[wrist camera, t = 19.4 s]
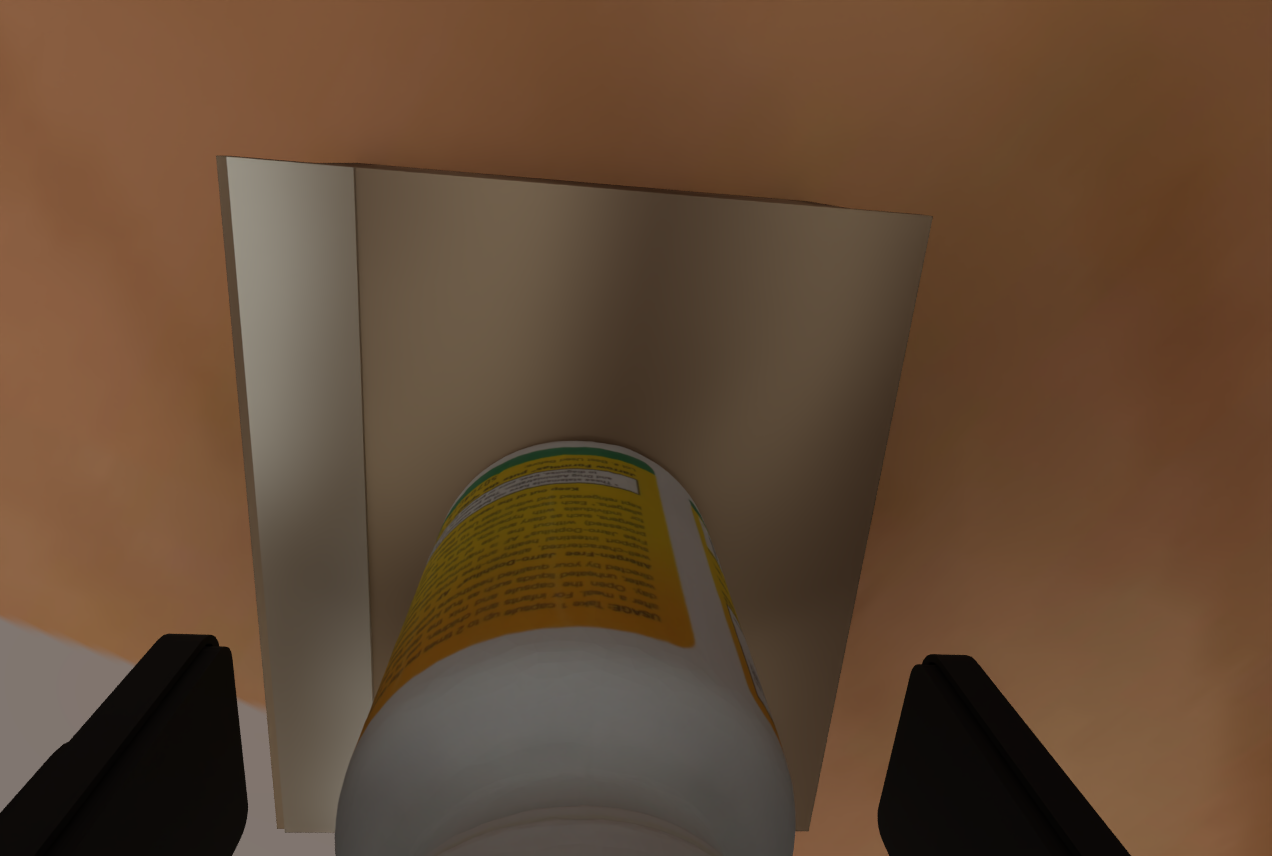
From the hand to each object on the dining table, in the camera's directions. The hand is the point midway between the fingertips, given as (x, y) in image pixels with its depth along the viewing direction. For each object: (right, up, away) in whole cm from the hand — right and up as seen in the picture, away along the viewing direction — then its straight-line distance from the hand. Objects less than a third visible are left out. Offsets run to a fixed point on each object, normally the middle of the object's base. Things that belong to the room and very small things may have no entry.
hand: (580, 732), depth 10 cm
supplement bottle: (0, +2, +5) cm, 5 cm away
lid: (-1, +2, +5) cm, 6 cm away
